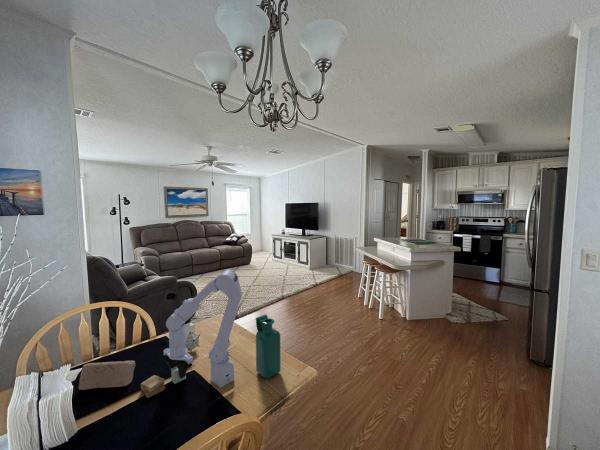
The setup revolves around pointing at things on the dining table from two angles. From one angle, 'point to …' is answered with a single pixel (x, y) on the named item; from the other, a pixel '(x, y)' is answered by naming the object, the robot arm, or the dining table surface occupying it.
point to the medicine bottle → (189, 327)
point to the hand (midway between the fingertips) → (178, 375)
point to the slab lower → (154, 391)
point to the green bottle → (267, 347)
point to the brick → (106, 374)
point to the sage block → (176, 375)
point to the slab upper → (152, 383)
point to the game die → (191, 341)
